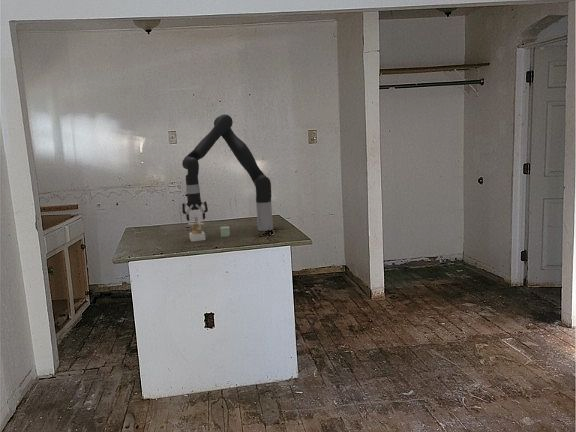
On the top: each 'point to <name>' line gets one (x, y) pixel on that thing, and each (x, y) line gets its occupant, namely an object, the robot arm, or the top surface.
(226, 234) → the sage block
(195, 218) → the pipe connector
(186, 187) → the robot arm
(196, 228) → the oak block
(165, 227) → the top surface
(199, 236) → the white base
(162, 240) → the top surface
